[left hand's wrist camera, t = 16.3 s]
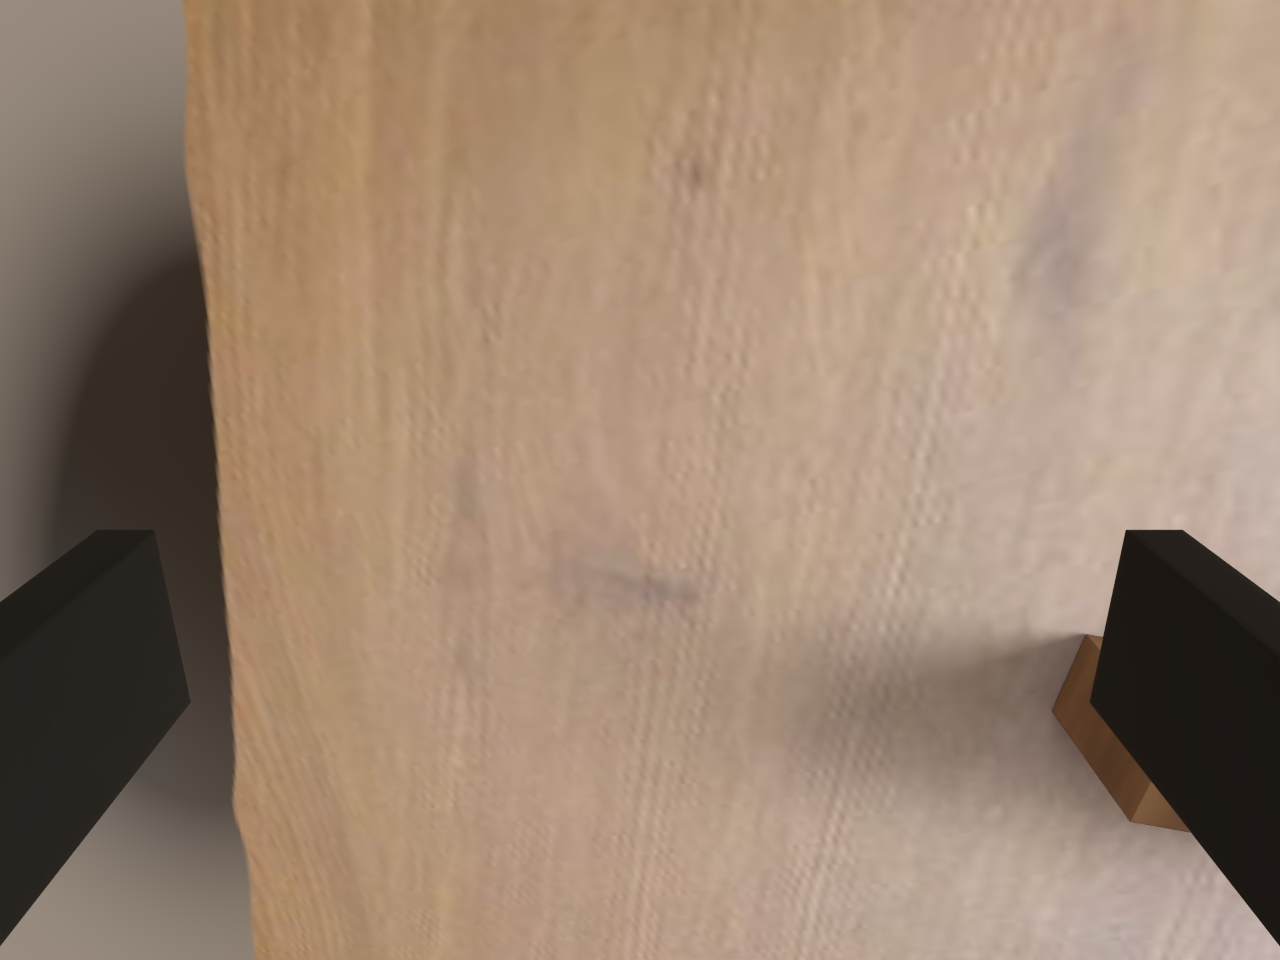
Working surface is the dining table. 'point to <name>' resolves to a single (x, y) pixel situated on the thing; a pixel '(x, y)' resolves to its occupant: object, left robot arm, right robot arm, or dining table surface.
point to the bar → (1108, 746)
